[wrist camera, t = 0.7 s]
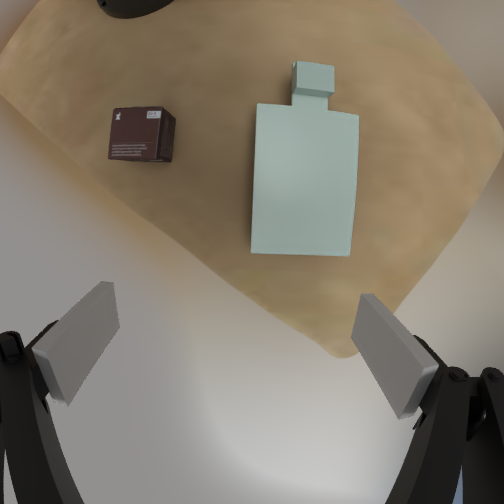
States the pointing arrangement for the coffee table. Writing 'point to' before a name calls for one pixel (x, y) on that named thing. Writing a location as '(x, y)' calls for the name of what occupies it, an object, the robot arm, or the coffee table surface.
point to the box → (141, 134)
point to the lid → (304, 170)
